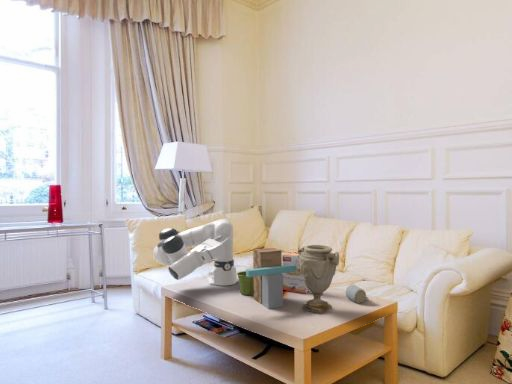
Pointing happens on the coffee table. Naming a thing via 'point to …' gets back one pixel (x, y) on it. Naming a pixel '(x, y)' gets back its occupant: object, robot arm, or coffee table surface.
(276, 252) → the walnut tower
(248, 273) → the teal bar
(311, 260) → the urn
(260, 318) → the coffee table surface
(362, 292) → the ceramic mug
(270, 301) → the grey block
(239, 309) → the coffee table surface
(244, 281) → the plant pot
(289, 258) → the cracker box
